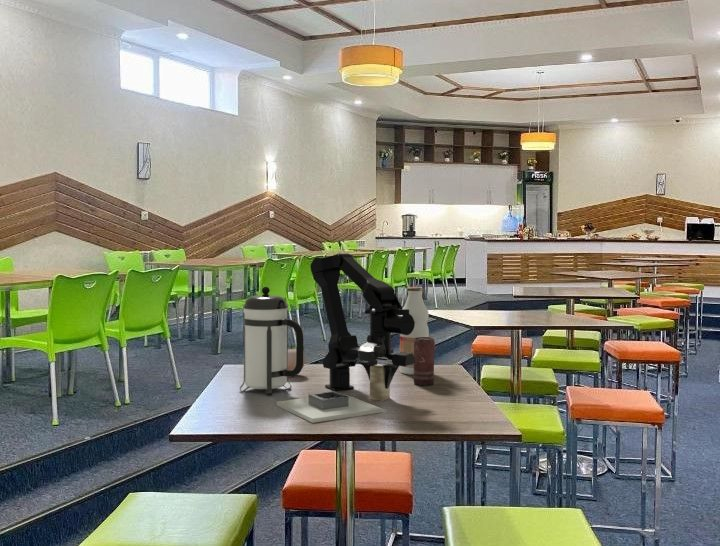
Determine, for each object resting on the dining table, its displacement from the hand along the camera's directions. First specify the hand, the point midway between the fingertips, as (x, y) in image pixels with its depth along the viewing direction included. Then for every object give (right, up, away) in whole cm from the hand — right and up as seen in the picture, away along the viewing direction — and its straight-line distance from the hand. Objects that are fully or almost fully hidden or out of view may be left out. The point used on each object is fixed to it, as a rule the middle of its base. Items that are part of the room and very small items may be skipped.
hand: (380, 387), depth 195 cm
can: (+14, -2, +19) cm, 24 cm away
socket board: (-14, -4, -12) cm, 19 cm away
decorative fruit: (-27, -1, +30) cm, 41 cm away
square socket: (-14, -4, -12) cm, 19 cm away
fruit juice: (+12, -1, +37) cm, 39 cm away
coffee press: (-31, -3, +9) cm, 33 cm away
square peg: (0, -3, 0) cm, 3 cm away
